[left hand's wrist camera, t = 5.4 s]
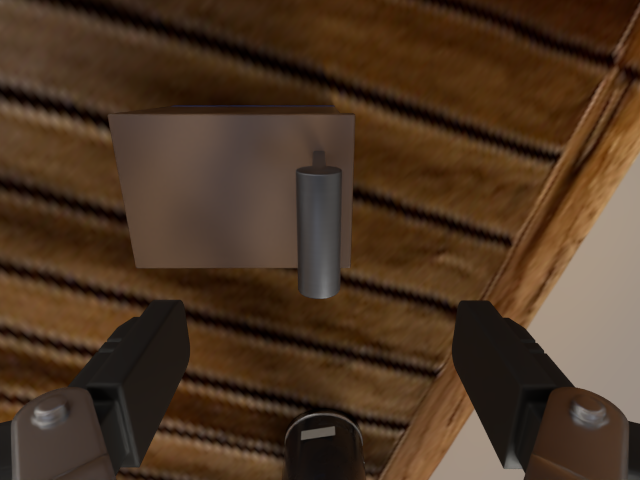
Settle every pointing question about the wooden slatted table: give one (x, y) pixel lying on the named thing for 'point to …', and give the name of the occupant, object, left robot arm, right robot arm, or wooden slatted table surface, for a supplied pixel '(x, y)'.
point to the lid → (239, 191)
